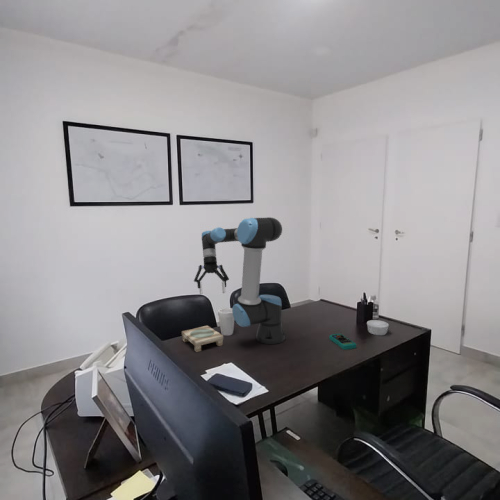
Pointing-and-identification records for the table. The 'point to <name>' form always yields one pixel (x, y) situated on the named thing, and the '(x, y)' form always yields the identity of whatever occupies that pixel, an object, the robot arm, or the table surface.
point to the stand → (202, 337)
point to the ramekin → (377, 327)
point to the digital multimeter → (342, 341)
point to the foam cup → (226, 321)
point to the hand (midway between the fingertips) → (212, 293)
